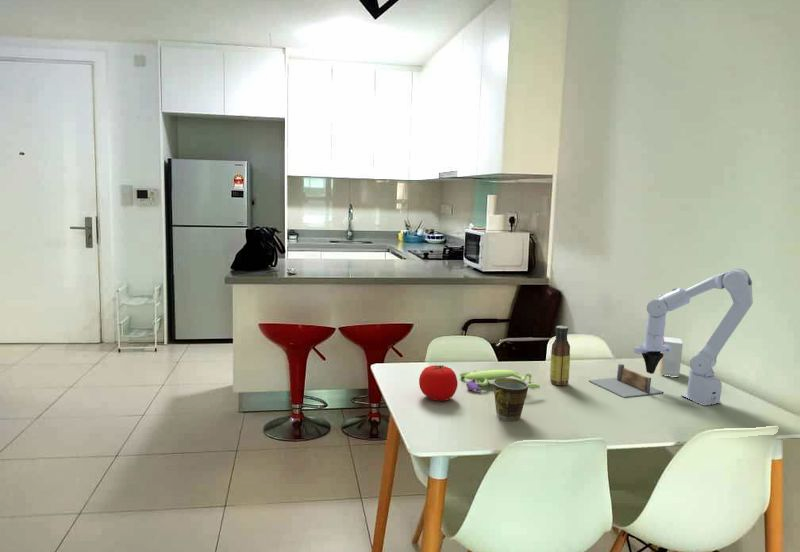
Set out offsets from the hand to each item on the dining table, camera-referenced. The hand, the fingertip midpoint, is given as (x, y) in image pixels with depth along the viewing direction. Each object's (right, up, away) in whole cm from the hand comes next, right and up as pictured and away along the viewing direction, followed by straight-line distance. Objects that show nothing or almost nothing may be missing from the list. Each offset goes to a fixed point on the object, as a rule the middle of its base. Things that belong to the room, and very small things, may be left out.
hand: (650, 372), depth 211 cm
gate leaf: (-5, -4, 0) cm, 7 cm away
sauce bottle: (-31, -4, +1) cm, 31 cm away
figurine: (-52, -4, -5) cm, 52 cm away
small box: (+14, -4, +18) cm, 23 cm away
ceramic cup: (-55, -8, -32) cm, 64 cm away
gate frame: (-8, -5, +1) cm, 10 cm away
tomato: (-73, -5, -19) cm, 76 cm away
